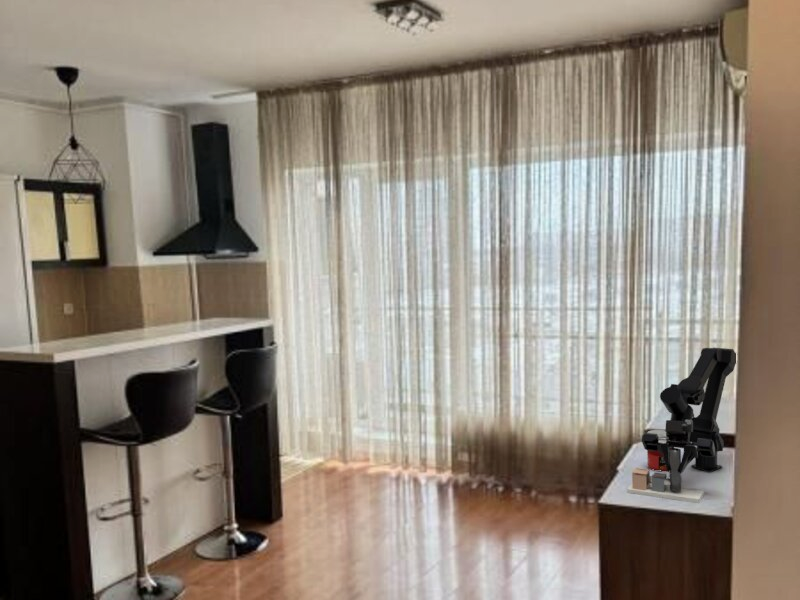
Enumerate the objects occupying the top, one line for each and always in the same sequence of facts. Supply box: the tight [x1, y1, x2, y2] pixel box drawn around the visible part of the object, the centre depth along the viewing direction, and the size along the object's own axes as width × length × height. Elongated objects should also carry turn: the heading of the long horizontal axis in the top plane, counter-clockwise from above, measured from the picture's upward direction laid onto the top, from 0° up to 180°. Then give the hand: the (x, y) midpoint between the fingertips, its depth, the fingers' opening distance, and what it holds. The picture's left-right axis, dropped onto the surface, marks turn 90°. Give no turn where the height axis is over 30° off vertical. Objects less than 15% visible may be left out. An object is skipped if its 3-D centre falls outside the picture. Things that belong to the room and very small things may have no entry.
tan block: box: [631, 467, 651, 490], centre depth 200 cm, size 4×4×5 cm
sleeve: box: [651, 472, 668, 492], centre depth 198 cm, size 3×3×4 cm
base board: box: [626, 483, 704, 504], centre depth 197 cm, size 19×6×1 cm, turn 58°
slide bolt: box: [646, 447, 682, 492], centre depth 197 cm, size 11×3×12 cm, turn 58°
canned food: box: [646, 429, 675, 472], centre depth 218 cm, size 8×8×11 cm
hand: (674, 472), depth 194 cm, fingers closed on slide bolt, 3 cm apart
